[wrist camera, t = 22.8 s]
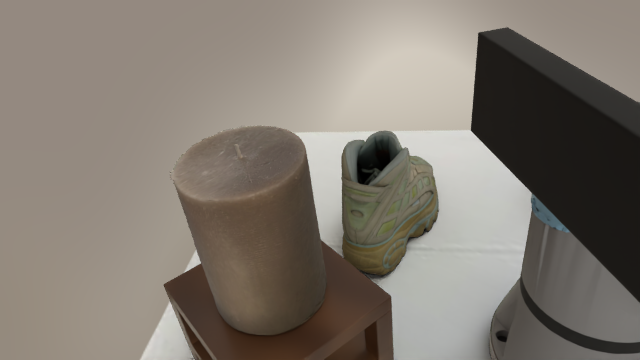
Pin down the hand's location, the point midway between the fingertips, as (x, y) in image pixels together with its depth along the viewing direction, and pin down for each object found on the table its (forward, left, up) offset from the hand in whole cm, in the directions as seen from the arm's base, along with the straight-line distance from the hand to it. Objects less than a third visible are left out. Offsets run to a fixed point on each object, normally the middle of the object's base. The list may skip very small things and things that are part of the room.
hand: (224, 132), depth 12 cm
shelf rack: (-8, -18, -37) cm, 42 cm away
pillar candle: (-8, -18, -26) cm, 33 cm away
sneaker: (-29, -26, -37) cm, 54 cm away
